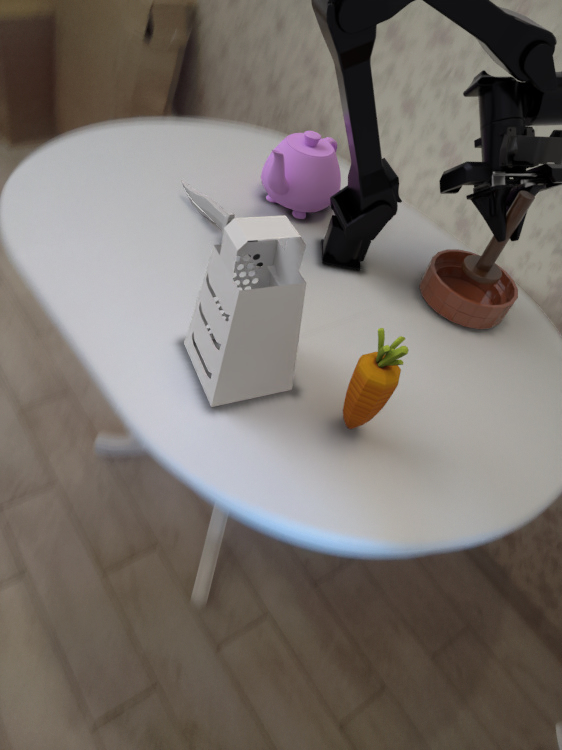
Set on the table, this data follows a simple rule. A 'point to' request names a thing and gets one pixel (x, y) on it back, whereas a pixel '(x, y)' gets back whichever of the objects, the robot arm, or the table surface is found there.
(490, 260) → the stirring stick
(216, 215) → the knife
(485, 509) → the table surface
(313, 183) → the teapot
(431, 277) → the bowl
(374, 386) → the carrot
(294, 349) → the grater
